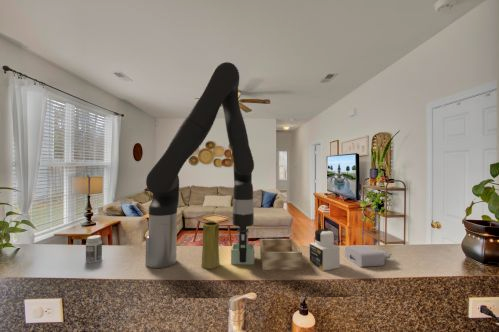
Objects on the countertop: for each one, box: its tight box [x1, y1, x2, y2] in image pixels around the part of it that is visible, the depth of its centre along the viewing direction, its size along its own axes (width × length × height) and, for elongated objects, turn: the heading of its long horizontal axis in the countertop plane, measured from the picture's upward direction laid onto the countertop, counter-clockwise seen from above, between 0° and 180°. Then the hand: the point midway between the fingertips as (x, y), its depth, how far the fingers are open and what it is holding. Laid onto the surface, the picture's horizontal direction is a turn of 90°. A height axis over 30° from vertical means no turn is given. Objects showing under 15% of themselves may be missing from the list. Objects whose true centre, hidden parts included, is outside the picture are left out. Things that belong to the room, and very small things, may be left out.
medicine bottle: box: [309, 228, 341, 272], centre depth 77 cm, size 7×7×12 cm
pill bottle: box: [85, 234, 103, 264], centre depth 79 cm, size 5×5×8 cm
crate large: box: [259, 238, 303, 271], centre depth 81 cm, size 13×15×6 cm
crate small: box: [230, 243, 255, 265], centre depth 80 cm, size 8×6×5 cm
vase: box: [201, 221, 220, 270], centre depth 76 cm, size 6×6×14 cm
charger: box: [344, 244, 392, 268], centre depth 81 cm, size 5×9×15 cm
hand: (242, 257), depth 80 cm, fingers closed on crate small, 6 cm apart
